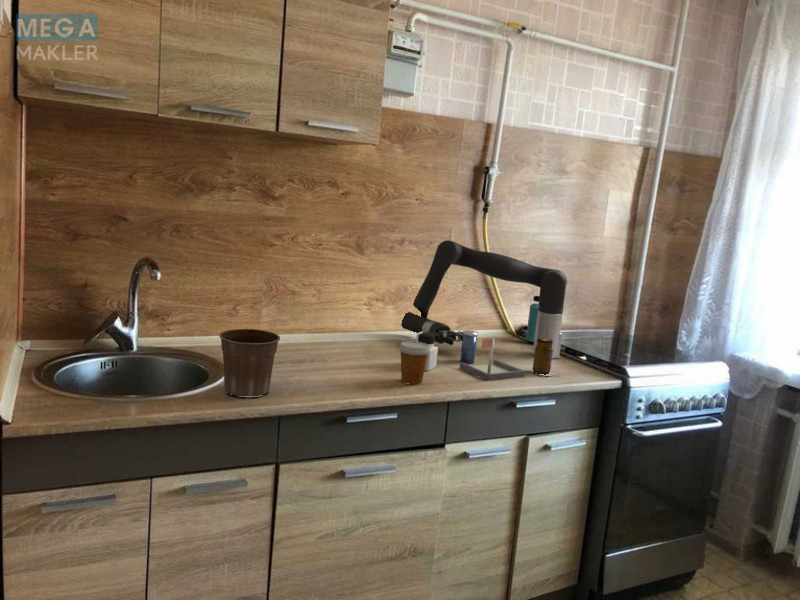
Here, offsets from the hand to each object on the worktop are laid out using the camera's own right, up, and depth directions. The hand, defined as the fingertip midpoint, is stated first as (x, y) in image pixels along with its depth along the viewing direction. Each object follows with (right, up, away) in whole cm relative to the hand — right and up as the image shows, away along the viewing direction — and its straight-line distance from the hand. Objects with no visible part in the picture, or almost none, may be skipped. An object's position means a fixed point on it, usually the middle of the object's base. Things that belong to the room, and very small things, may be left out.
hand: (462, 341), depth 243 cm
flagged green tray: (+7, -10, -14) cm, 19 cm away
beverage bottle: (+33, -3, +37) cm, 50 cm away
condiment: (+27, -11, -8) cm, 30 cm away
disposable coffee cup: (-19, -11, -32) cm, 39 cm away
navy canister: (+2, -7, -2) cm, 8 cm away
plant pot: (-65, -11, -56) cm, 86 cm away
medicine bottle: (-15, -8, -14) cm, 22 cm away
